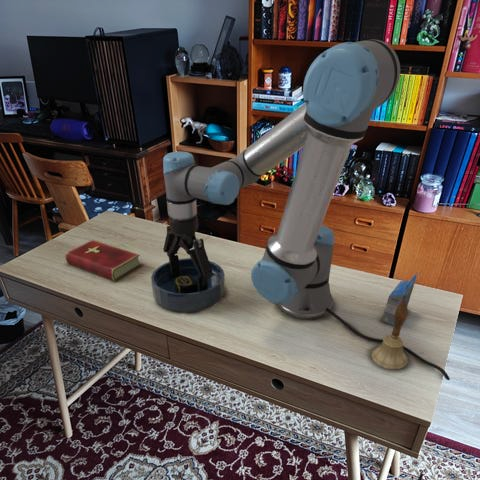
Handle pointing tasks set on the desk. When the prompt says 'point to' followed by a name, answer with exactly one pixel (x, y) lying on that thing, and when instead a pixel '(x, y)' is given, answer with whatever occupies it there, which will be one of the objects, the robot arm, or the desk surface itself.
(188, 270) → the bowl
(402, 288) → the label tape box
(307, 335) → the desk surface
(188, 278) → the tape measure
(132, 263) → the hardcover book
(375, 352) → the hand bell
